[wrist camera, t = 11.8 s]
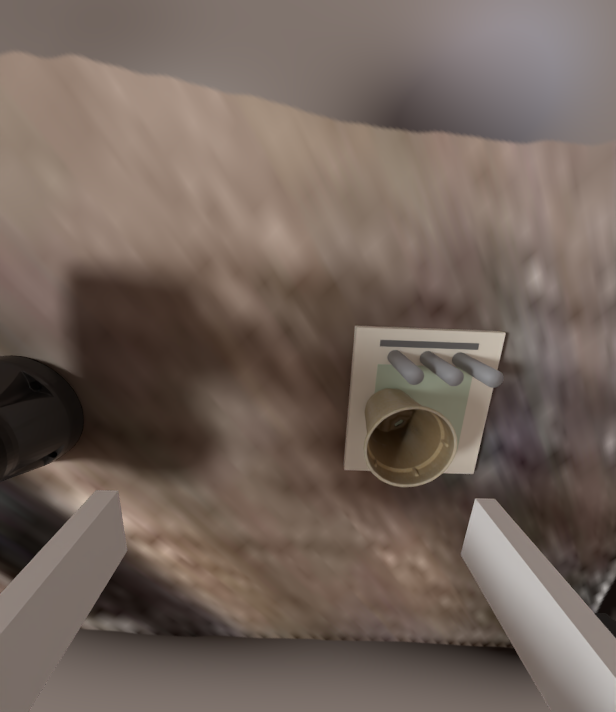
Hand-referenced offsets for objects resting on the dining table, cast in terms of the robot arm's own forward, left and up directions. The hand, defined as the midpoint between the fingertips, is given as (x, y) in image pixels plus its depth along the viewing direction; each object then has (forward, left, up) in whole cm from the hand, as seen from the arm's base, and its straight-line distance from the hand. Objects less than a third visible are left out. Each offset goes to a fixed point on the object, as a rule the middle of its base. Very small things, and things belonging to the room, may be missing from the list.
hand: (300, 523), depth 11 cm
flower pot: (+11, -8, -26) cm, 29 cm away
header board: (+15, -7, -27) cm, 32 cm away
